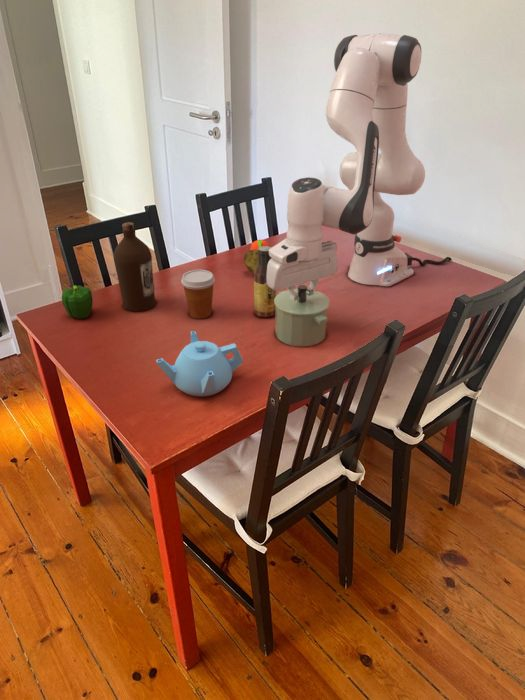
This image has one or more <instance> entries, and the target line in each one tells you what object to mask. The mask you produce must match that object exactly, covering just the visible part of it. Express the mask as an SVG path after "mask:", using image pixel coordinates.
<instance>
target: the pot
mask: <svg viewBox="0 0 525 700" xmlns="http://www.w3.org/2000/svg"><path fill="white" fill-rule="evenodd" d="M283 291H284V290H281V291H277V292H278V293H277V295H278V294H279V293H281V292H283ZM328 309H329V307H328V308H327V309H326V310H325V311H323V312H321V313H318V314H314V315H306V316H300V315H292V314H288V313H285V312H283V311H281V310H279V309H278V308H277V307H276V309H275V314H274V316H275V317H274V318H275V320H274V321H275V328H274V329H275V336H276V338H277V339H278V340H279V341H280V342H282V343H283V344H286V345H288V346H293V347H310V346H314V345H318V344H319V343H321V342H323V341H324V340H325V339H326V336H327V335H326V333H327V325H328V324H327V323H328V313H329V311H328Z"/></svg>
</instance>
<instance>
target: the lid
mask: <svg viewBox="0 0 525 700" xmlns="http://www.w3.org/2000/svg"><path fill="white" fill-rule="evenodd" d="M307 287H308V286H307V285H305V284H300V285H297V288H295V289H293V290H294V291H295V292H296V293H298V294H299V295H298V299H297V300H294V301H293V300H291V299H290V292H289V291H288V289H287V290H286V289H285V290H282V291H283V292H282V291H280V292H281V293H279V294H278V293H277V294H276V297H275V299H274V304H275V306H276V307H277V308H278V309H279V310H281V311H283V312H285V313H288V314H292V315H300V316H306V315H314V314H318V313H321V312H323V311H325V310H326V309H327V308H328V309H329V307H330V304H331V302H330V301H331V300H330V299H329V297H328V296H327V295H326V294H324V293H323V292H320V291H318V290H315V289H314V295H310V296H308V295H307Z"/></svg>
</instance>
